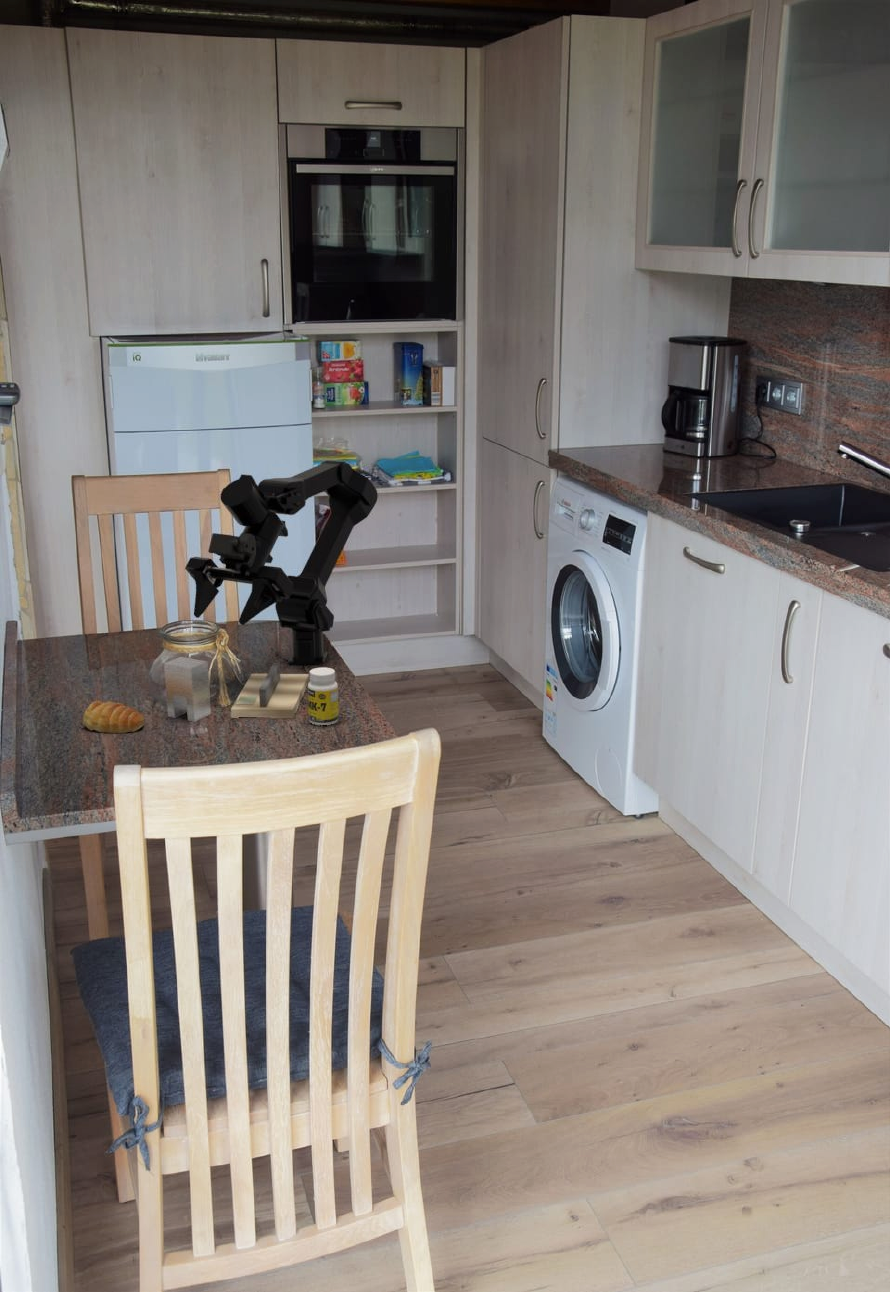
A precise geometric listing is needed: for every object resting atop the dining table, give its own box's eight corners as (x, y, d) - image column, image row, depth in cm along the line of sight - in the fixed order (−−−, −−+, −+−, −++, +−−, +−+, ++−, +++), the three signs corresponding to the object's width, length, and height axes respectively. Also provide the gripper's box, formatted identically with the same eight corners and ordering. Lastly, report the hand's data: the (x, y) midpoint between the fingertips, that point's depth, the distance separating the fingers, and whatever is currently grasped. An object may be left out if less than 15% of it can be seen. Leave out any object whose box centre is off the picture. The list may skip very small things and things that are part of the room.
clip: (184, 708, 194) (180, 656, 192) (210, 714, 192) (207, 661, 189) (168, 716, 191) (164, 663, 188) (194, 722, 189) (191, 668, 186)
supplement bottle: (302, 723, 188) (300, 673, 186) (319, 714, 192) (317, 664, 190) (328, 728, 186) (326, 677, 183) (344, 718, 190) (343, 669, 187)
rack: (252, 681, 208) (250, 657, 206) (309, 682, 207) (308, 657, 206) (231, 717, 190) (229, 691, 189) (293, 718, 190) (292, 691, 189)
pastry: (154, 723, 189) (152, 700, 188) (131, 738, 183) (129, 715, 181) (103, 717, 191) (100, 694, 190) (78, 732, 185) (76, 709, 184)
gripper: (189, 509, 198) (148, 586, 192) (281, 518, 190) (241, 599, 183) (220, 547, 207) (182, 622, 201) (310, 558, 199) (273, 637, 192)
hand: (218, 619), depth 194 cm, fingers open, 9 cm apart
